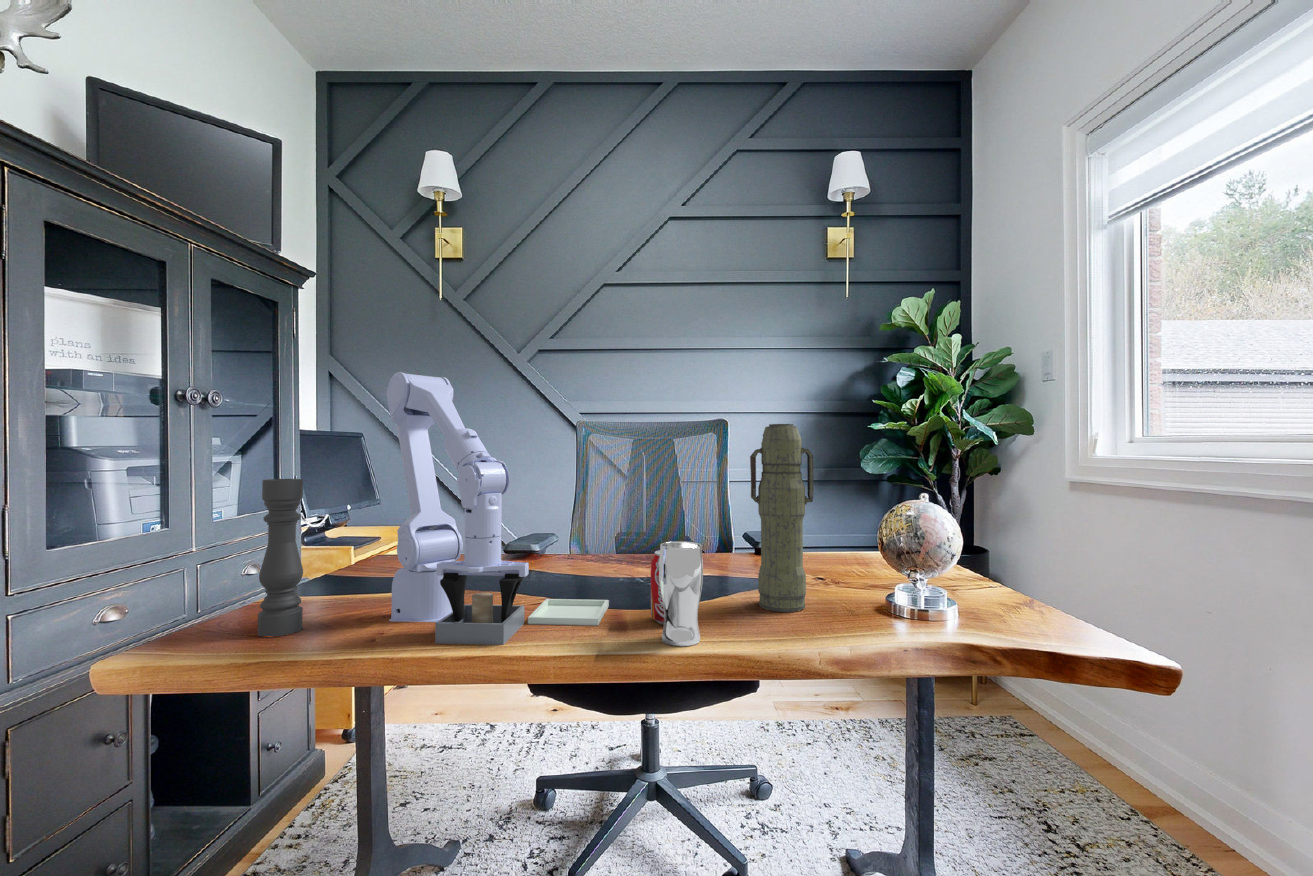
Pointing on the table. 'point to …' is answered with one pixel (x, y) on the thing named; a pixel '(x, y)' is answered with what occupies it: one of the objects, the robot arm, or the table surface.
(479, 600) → the birch pin
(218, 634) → the table surface
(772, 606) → the thermos
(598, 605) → the sage tray
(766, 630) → the table surface
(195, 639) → the table surface
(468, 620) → the charcoal bin
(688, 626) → the beer glass
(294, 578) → the candle holder
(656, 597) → the soda can
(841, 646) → the table surface
